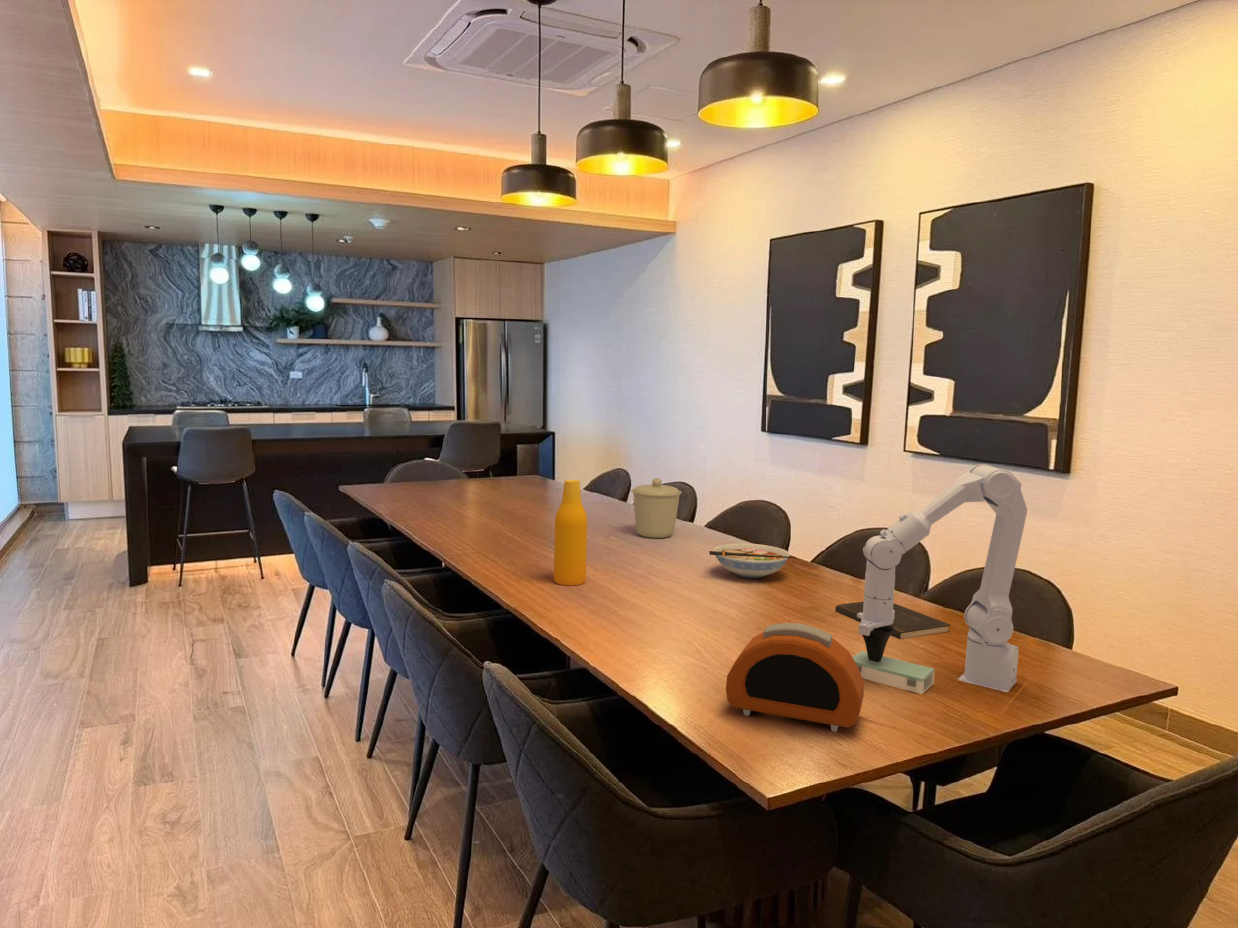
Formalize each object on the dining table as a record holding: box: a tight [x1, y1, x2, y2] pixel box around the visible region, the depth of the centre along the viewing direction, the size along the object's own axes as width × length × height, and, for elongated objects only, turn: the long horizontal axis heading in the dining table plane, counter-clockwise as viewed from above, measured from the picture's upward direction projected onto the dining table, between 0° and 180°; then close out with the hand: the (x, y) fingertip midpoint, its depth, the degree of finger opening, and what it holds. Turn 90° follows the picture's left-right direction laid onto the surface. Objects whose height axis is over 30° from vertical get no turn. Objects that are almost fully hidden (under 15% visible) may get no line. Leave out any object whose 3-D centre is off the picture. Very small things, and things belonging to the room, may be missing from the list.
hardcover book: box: [835, 601, 951, 640], centre depth 207 cm, size 16×23×2 cm
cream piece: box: [857, 665, 935, 695], centre depth 166 cm, size 15×8×3 cm, turn 52°
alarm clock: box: [725, 622, 865, 733], centre depth 148 cm, size 23×9×17 cm, turn 69°
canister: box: [631, 477, 682, 539], centre depth 300 cm, size 18×18×21 cm
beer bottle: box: [553, 479, 588, 587], centre depth 233 cm, size 9×9×29 cm
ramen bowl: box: [708, 542, 797, 579], centre depth 247 cm, size 25×23×8 cm
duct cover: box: [852, 650, 935, 682], centre depth 166 cm, size 15×7×1 cm, turn 52°
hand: (874, 660), depth 168 cm, fingers closed, pressing on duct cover
